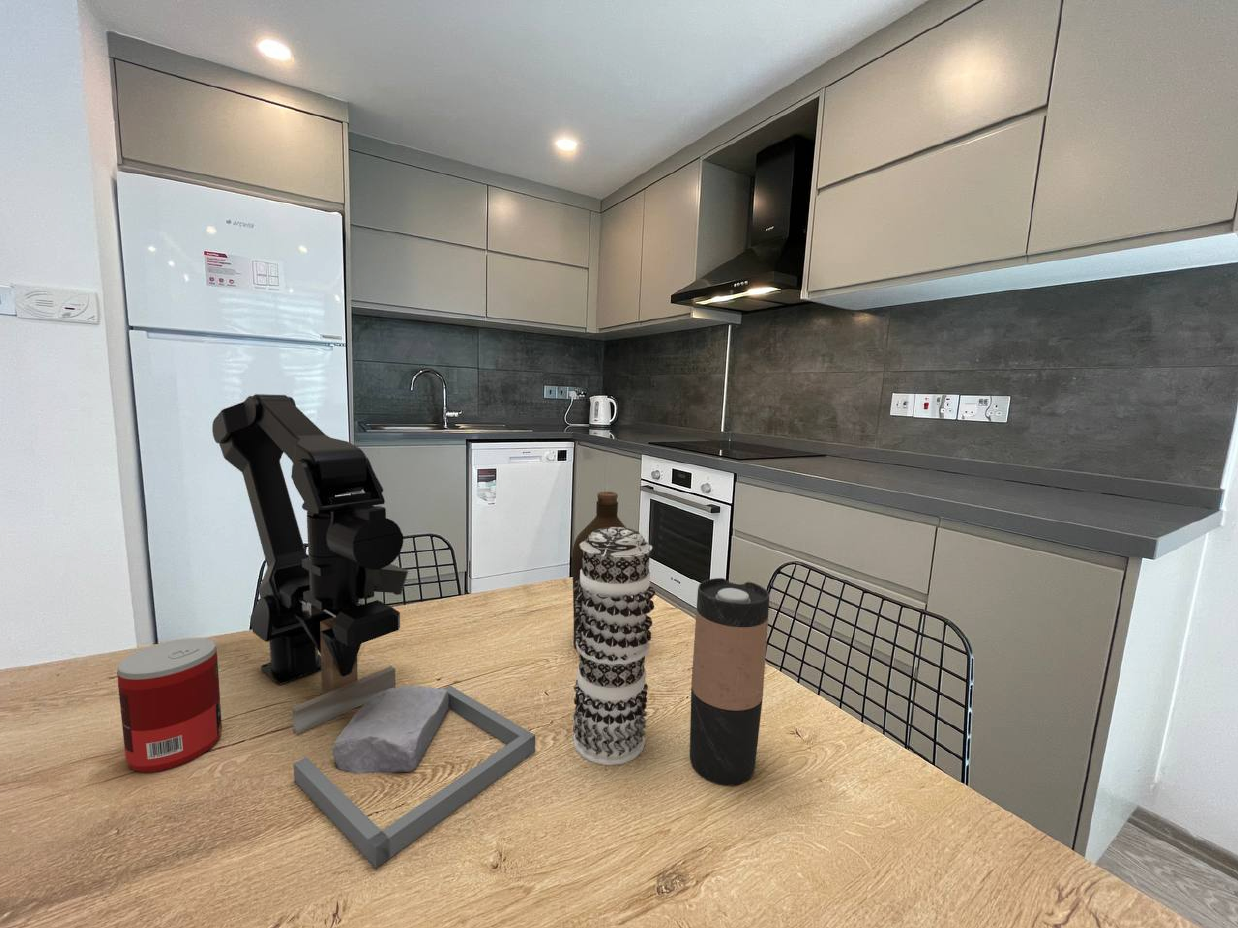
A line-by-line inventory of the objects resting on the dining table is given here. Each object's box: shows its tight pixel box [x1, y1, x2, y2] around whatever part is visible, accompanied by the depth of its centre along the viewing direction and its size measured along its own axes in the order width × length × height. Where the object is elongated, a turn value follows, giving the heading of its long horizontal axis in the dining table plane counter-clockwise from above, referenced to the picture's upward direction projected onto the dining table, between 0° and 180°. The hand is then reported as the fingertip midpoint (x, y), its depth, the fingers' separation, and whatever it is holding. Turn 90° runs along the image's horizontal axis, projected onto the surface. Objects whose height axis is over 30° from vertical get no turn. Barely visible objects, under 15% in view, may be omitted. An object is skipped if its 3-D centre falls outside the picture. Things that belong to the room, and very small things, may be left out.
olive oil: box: [571, 491, 627, 650], centre depth 81 cm, size 11×11×25 cm
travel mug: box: [689, 577, 770, 786], centre depth 55 cm, size 8×8×20 cm
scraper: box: [291, 617, 396, 736], centre depth 64 cm, size 4×12×11 cm, turn 144°
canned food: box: [117, 637, 223, 773], centre depth 55 cm, size 8×8×11 cm
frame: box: [293, 684, 536, 869], centre depth 54 cm, size 16×18×2 cm
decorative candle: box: [572, 527, 656, 766], centre depth 58 cm, size 9×9×25 cm
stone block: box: [332, 685, 449, 775], centre depth 59 cm, size 12×5×10 cm
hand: (339, 669), depth 64 cm, fingers closed on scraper, 3 cm apart
